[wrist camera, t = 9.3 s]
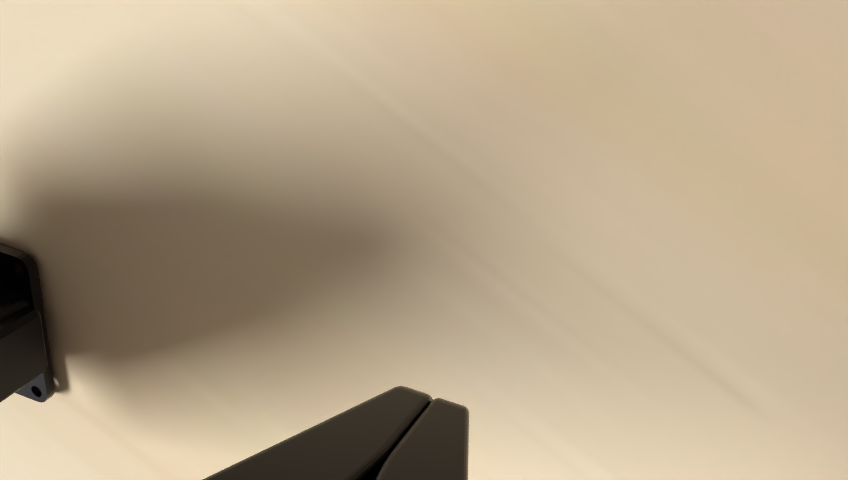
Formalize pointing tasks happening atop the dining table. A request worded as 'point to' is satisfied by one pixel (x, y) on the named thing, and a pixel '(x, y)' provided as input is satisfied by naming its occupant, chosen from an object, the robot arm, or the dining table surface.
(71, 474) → the dining table surface
